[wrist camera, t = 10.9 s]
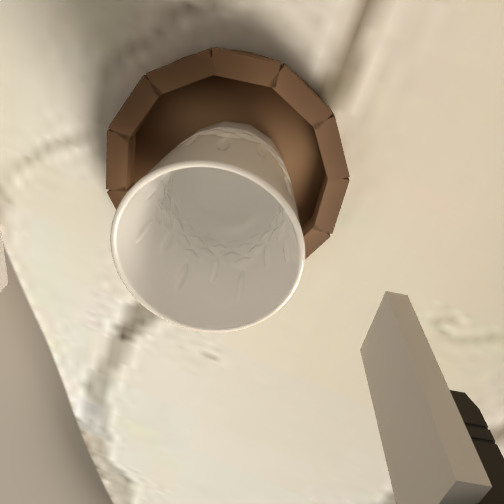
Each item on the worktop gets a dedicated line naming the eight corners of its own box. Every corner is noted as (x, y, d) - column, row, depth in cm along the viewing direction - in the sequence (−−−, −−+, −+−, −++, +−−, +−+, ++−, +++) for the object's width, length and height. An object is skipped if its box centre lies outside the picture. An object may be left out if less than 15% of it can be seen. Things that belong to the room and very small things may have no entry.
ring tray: (122, 24, 23) (108, 25, 21) (372, 78, 23) (381, 84, 21) (115, 246, 29) (103, 262, 27) (308, 284, 30) (310, 302, 28)
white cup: (146, 192, 26) (80, 277, 18) (207, 81, 23) (164, 117, 14) (250, 254, 28) (238, 359, 19) (322, 158, 25) (346, 233, 16)
